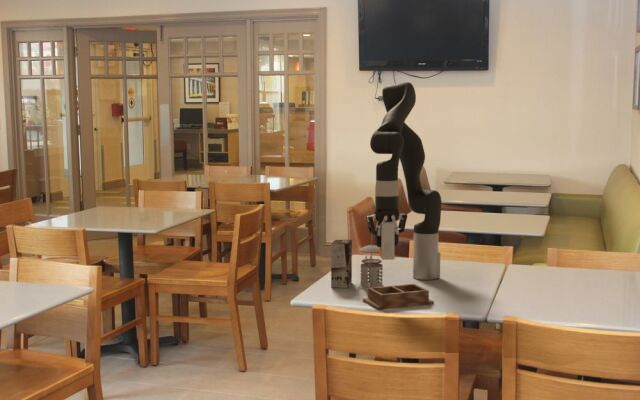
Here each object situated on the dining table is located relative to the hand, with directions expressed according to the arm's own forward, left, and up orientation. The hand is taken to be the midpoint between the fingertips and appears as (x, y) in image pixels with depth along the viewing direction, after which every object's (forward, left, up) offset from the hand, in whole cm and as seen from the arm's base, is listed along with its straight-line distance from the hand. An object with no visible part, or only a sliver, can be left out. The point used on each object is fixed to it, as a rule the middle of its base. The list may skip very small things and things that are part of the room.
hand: (386, 246), depth 247 cm
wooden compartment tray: (-4, 0, -19) cm, 20 cm away
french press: (-4, -22, -19) cm, 29 cm away
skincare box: (0, 0, -4) cm, 4 cm away
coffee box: (+4, -30, -19) cm, 36 cm away
